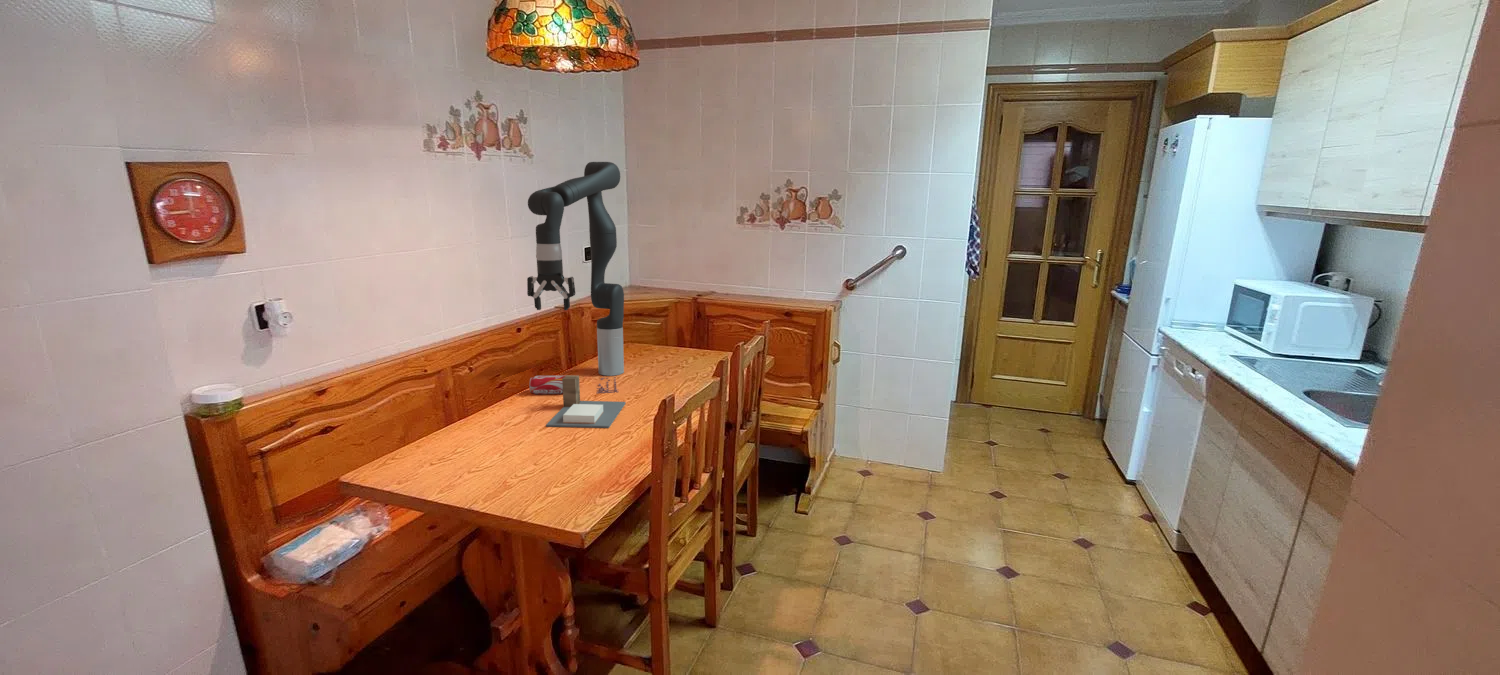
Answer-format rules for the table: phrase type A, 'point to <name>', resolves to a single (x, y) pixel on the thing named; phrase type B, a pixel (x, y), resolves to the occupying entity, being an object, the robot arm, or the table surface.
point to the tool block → (571, 390)
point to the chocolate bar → (607, 387)
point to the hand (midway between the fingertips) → (552, 309)
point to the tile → (583, 413)
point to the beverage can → (546, 385)
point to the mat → (604, 421)
